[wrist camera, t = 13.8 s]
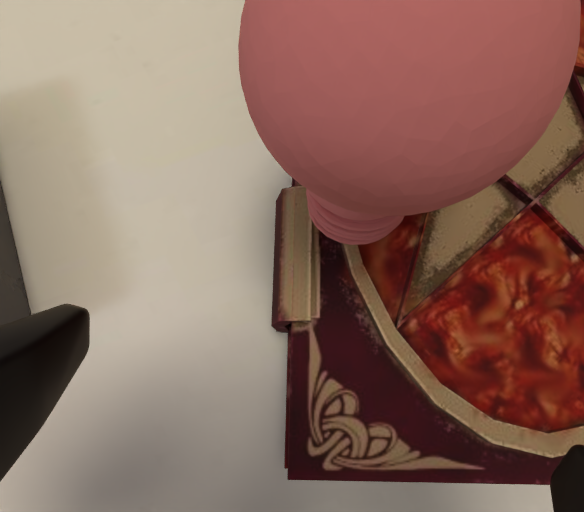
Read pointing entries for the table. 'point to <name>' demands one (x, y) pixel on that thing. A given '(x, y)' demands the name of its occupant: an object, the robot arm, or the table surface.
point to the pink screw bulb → (402, 98)
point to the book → (442, 329)
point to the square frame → (10, 273)
